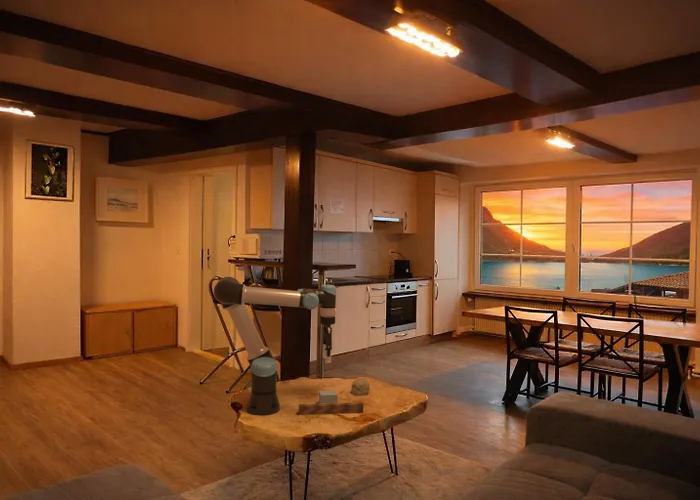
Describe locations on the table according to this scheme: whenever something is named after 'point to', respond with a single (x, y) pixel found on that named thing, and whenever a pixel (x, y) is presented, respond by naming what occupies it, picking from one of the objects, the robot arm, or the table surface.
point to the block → (328, 396)
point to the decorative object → (360, 387)
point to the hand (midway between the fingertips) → (326, 359)
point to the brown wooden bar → (330, 408)
